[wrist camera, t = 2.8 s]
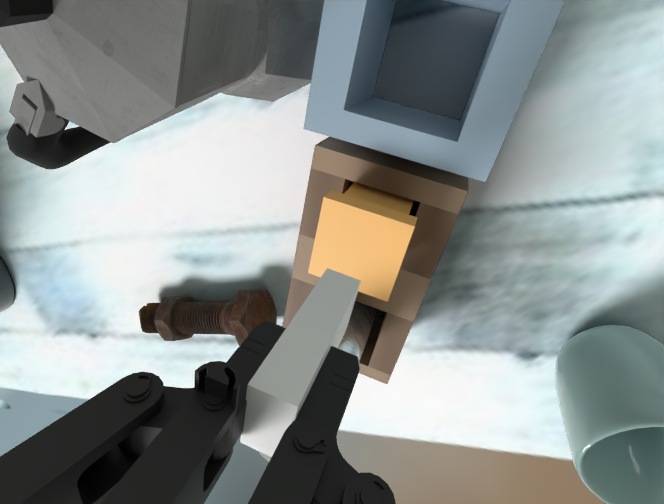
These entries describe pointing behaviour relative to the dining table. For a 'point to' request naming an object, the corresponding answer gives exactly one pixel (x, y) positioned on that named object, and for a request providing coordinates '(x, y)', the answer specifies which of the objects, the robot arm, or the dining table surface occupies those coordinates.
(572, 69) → the dining table surface
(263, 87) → the coffeepot
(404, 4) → the dining table surface
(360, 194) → the release button
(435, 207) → the socket block
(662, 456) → the cup
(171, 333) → the bolt
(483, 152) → the block
